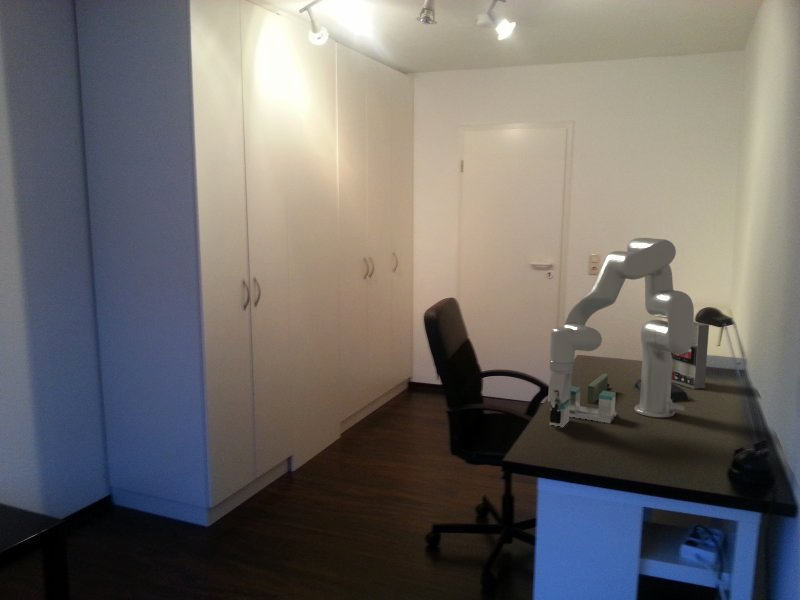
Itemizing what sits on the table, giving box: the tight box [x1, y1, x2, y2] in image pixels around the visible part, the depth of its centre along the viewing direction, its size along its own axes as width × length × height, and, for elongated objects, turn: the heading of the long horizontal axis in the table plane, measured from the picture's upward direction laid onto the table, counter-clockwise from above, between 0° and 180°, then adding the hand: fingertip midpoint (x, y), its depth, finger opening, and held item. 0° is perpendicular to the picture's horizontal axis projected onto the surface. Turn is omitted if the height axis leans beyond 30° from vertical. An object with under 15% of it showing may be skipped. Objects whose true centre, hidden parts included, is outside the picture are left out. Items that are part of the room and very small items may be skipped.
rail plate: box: [569, 385, 617, 424], centre depth 213 cm, size 16×10×8 cm, turn 60°
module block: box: [549, 401, 570, 428], centre depth 204 cm, size 4×6×7 cm
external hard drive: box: [633, 379, 690, 402], centre depth 240 cm, size 13×19×4 cm
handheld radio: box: [585, 373, 610, 404], centre depth 238 cm, size 7×3×25 cm
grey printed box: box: [671, 321, 710, 390], centre depth 252 cm, size 14×6×25 cm, turn 23°
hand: (559, 418), depth 205 cm, fingers open, 9 cm apart
